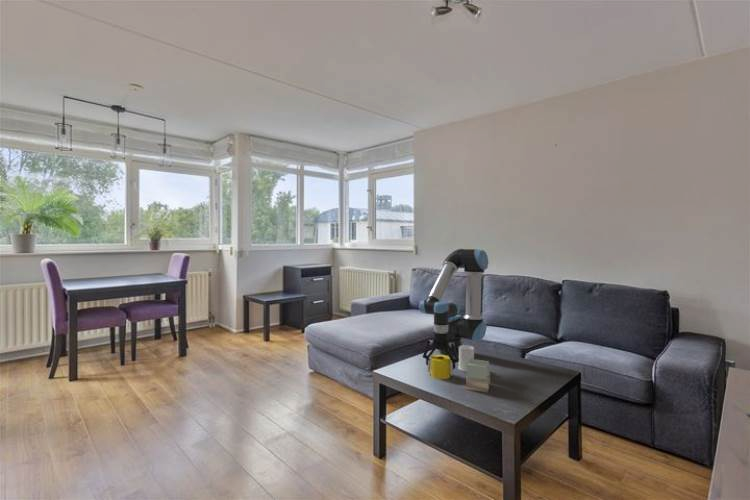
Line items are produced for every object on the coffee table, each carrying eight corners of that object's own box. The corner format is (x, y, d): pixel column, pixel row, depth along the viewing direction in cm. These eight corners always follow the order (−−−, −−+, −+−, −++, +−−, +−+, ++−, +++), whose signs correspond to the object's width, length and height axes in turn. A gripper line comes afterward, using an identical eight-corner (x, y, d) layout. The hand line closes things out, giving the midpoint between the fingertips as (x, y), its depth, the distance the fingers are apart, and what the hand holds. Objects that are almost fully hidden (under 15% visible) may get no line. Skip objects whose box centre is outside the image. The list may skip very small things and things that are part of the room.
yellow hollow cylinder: (446, 380, 187) (446, 362, 186) (427, 376, 192) (427, 358, 192) (453, 374, 195) (453, 356, 195) (435, 370, 201) (435, 353, 200)
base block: (469, 381, 186) (469, 369, 186) (489, 384, 182) (489, 372, 182) (465, 389, 177) (465, 377, 177) (487, 392, 173) (487, 380, 173)
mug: (472, 374, 195) (472, 352, 194) (456, 372, 198) (456, 350, 197) (475, 367, 205) (475, 346, 205) (459, 365, 209) (459, 344, 208)
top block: (470, 370, 185) (470, 358, 185) (488, 373, 182) (488, 361, 181) (466, 376, 177) (467, 364, 177) (486, 379, 173) (486, 367, 173)
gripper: (416, 331, 194) (416, 372, 195) (462, 336, 185) (462, 379, 186) (420, 327, 201) (420, 367, 202) (465, 332, 192) (464, 373, 193)
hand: (440, 373), depth 194 cm, fingers open, 11 cm apart
